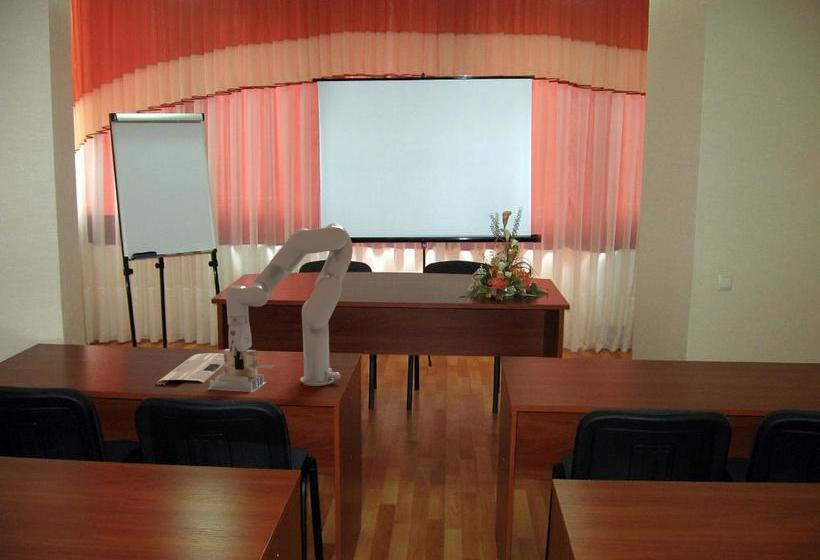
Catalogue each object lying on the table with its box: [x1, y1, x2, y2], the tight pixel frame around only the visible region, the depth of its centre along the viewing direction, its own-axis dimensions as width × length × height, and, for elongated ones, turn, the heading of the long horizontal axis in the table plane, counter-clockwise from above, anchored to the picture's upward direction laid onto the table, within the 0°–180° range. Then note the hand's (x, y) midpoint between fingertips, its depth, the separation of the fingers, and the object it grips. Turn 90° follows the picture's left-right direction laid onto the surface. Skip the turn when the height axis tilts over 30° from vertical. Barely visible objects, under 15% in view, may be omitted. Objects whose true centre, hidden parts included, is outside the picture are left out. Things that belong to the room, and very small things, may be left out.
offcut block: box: [219, 374, 248, 382], centre depth 271 cm, size 10×3×4 cm, turn 78°
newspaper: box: [156, 352, 225, 386], centre depth 297 cm, size 37×19×3 cm, turn 176°
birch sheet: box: [223, 348, 259, 377], centre depth 276 cm, size 12×2×12 cm, turn 77°
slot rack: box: [207, 371, 268, 393], centre depth 274 cm, size 18×12×4 cm, turn 78°
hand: (241, 368), depth 276 cm, fingers closed on birch sheet, 2 cm apart
